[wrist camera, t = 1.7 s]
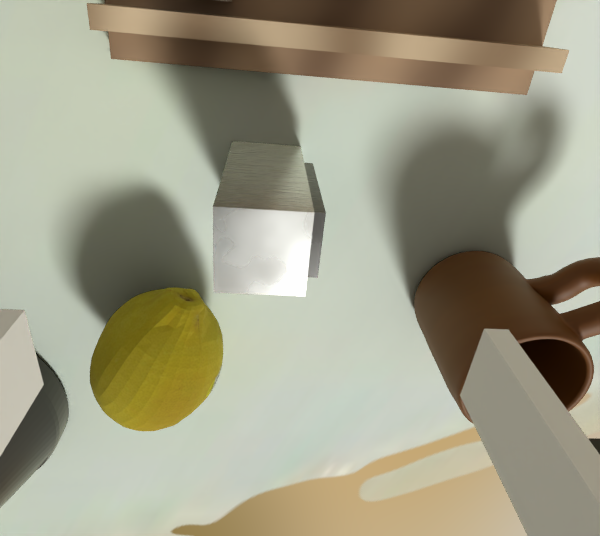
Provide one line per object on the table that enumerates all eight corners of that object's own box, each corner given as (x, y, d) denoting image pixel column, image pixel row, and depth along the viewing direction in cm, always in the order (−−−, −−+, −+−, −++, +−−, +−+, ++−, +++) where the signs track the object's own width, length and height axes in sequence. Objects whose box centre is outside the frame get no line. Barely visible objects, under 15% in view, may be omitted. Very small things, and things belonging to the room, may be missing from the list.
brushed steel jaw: (310, 146, 27) (329, 213, 18) (304, 209, 29) (318, 296, 20) (232, 141, 26) (213, 206, 18) (231, 205, 28) (213, 292, 20)
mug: (534, 178, 29) (639, 246, 20) (591, 250, 32) (702, 336, 23) (389, 296, 32) (428, 392, 24) (451, 351, 35) (505, 454, 27)
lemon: (183, 388, 36) (161, 479, 29) (88, 344, 33) (40, 433, 26) (261, 293, 32) (259, 373, 25) (161, 234, 29) (126, 306, 22)
